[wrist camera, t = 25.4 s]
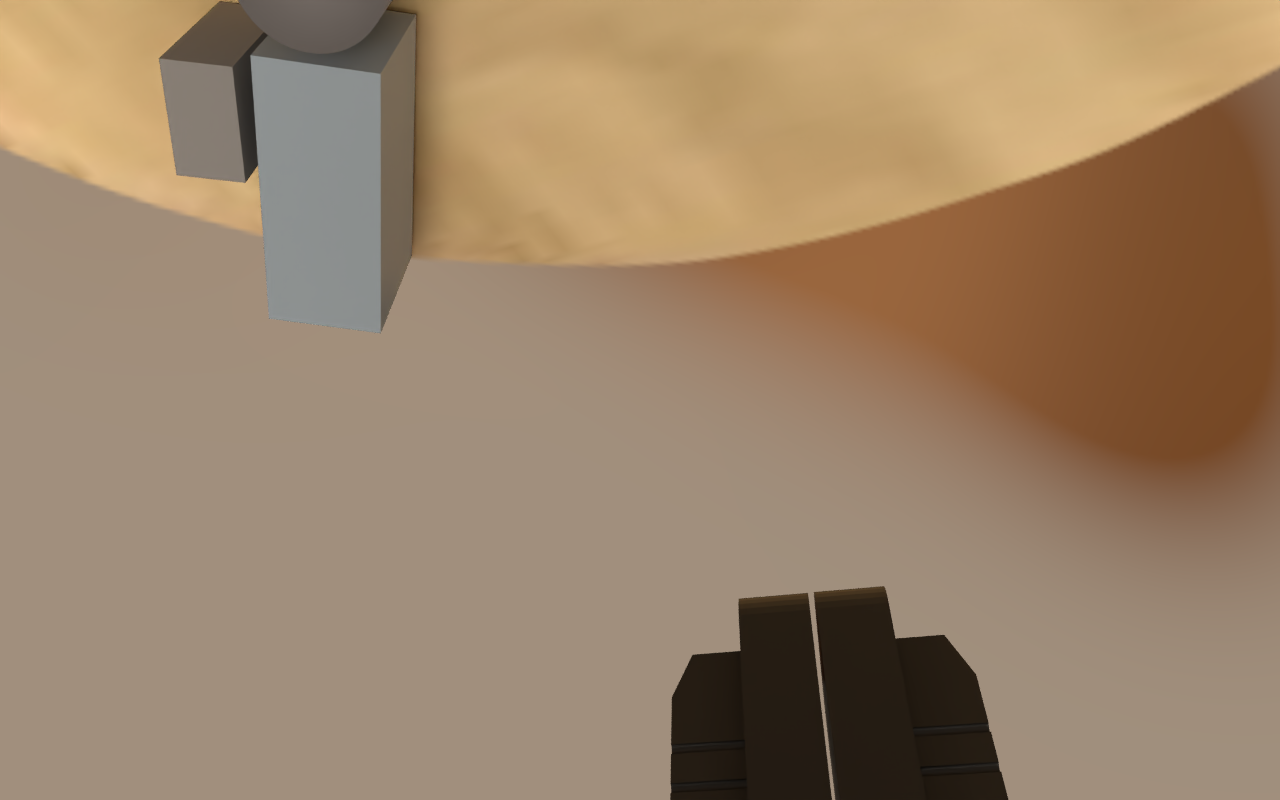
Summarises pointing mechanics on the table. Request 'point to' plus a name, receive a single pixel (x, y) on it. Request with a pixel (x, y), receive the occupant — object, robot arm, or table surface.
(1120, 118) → the table surface
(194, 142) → the block
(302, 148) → the hinged leg
